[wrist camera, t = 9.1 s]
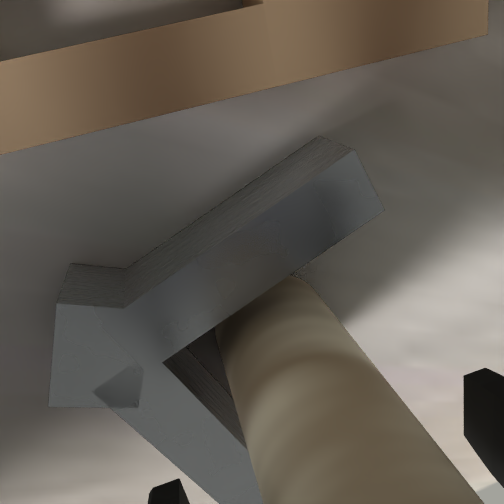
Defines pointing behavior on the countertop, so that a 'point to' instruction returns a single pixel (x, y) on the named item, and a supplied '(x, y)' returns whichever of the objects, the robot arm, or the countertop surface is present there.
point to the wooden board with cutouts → (215, 61)
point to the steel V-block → (200, 311)
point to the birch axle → (325, 411)
